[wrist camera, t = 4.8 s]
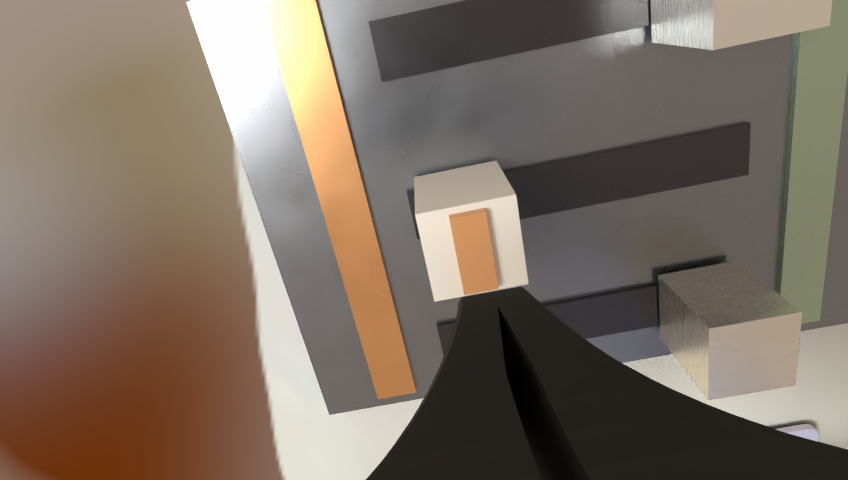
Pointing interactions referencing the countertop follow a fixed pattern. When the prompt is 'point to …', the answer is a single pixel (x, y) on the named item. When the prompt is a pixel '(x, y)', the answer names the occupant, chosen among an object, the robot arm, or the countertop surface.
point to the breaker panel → (549, 171)
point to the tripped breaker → (469, 231)
